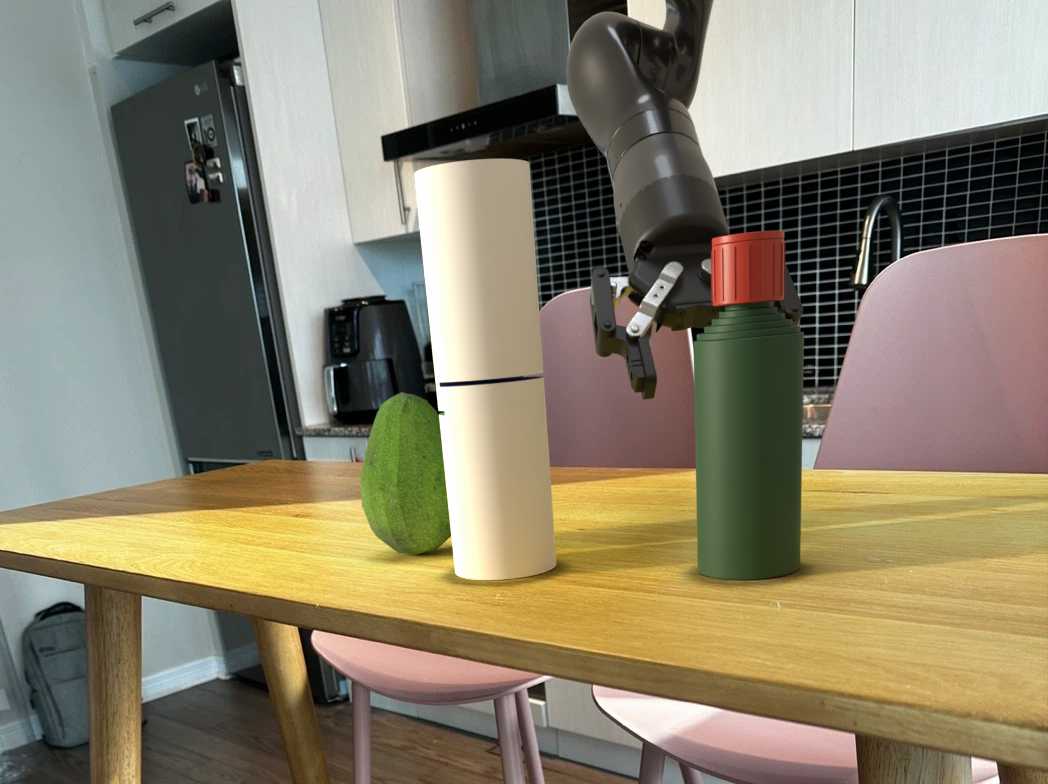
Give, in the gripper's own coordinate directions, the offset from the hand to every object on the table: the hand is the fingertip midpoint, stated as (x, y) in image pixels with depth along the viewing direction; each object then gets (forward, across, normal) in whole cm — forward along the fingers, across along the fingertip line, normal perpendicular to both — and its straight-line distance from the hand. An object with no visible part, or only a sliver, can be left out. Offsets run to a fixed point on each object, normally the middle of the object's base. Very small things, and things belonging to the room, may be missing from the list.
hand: (713, 385), depth 69 cm
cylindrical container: (+8, -15, +8) cm, 19 cm away
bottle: (+13, 0, +2) cm, 13 cm away
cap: (+2, 0, -9) cm, 9 cm away
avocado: (+2, -21, +14) cm, 25 cm away
